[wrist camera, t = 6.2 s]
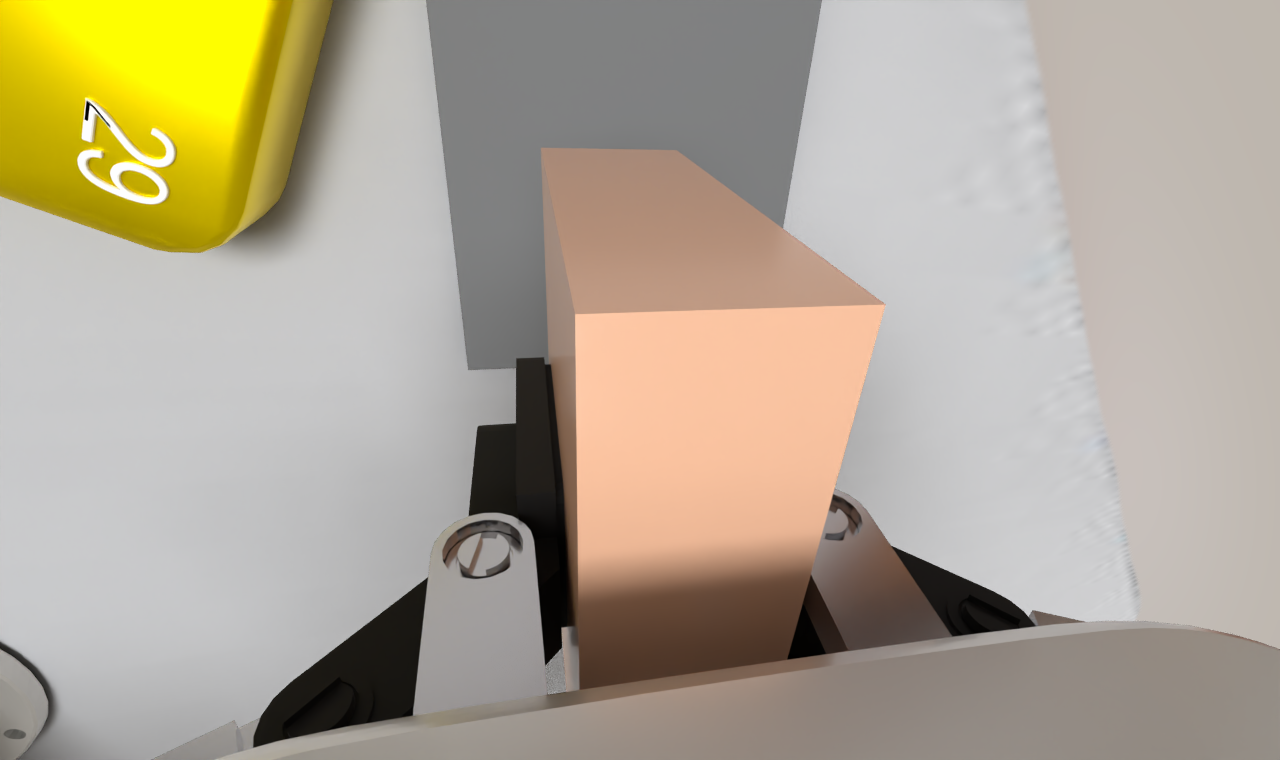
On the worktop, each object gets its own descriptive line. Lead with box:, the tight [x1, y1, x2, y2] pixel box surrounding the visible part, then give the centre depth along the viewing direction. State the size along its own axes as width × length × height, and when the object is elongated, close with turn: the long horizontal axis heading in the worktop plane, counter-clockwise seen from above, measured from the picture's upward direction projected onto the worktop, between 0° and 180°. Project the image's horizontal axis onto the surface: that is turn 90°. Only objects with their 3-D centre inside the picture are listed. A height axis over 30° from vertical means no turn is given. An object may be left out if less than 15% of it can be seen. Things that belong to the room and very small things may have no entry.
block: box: [541, 148, 886, 692], centre depth 10 cm, size 10×2×7 cm, turn 177°
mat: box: [426, 0, 822, 370], centre depth 22 cm, size 17×13×1 cm
